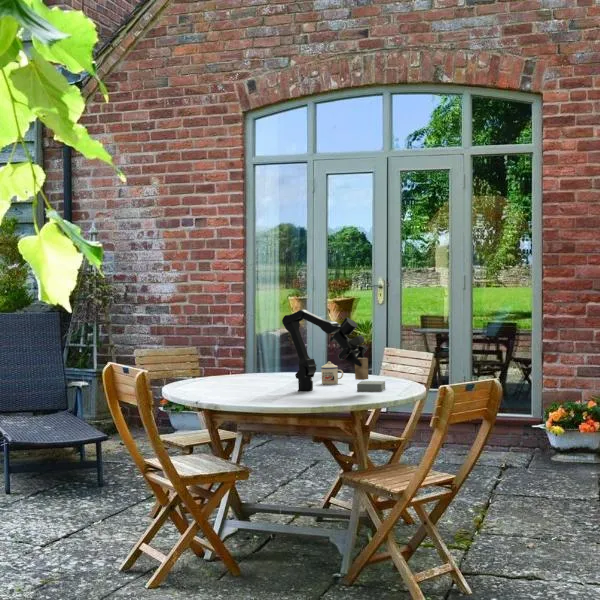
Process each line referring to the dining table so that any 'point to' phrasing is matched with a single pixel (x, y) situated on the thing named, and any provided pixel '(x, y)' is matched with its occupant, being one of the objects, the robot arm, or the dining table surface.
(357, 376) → the bronze block
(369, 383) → the gray box
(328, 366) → the teacup with lid
